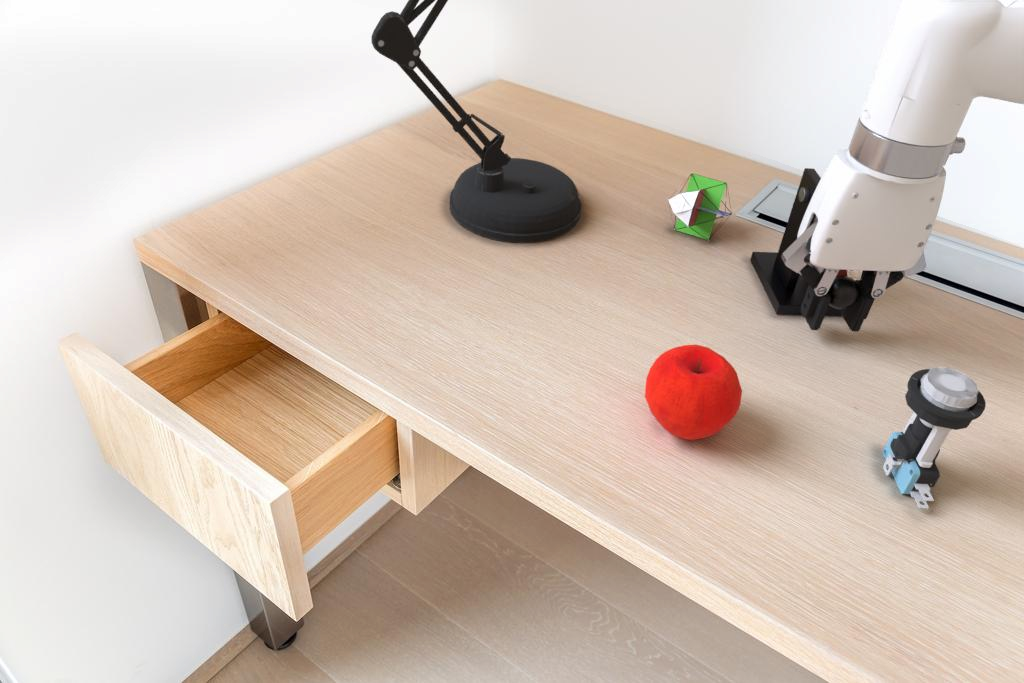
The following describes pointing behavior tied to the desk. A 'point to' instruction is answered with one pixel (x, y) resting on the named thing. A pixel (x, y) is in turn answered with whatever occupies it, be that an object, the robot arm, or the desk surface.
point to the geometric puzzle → (699, 206)
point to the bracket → (769, 266)
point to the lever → (843, 291)
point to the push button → (930, 427)
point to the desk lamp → (484, 154)
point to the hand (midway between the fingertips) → (830, 320)
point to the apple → (692, 391)
